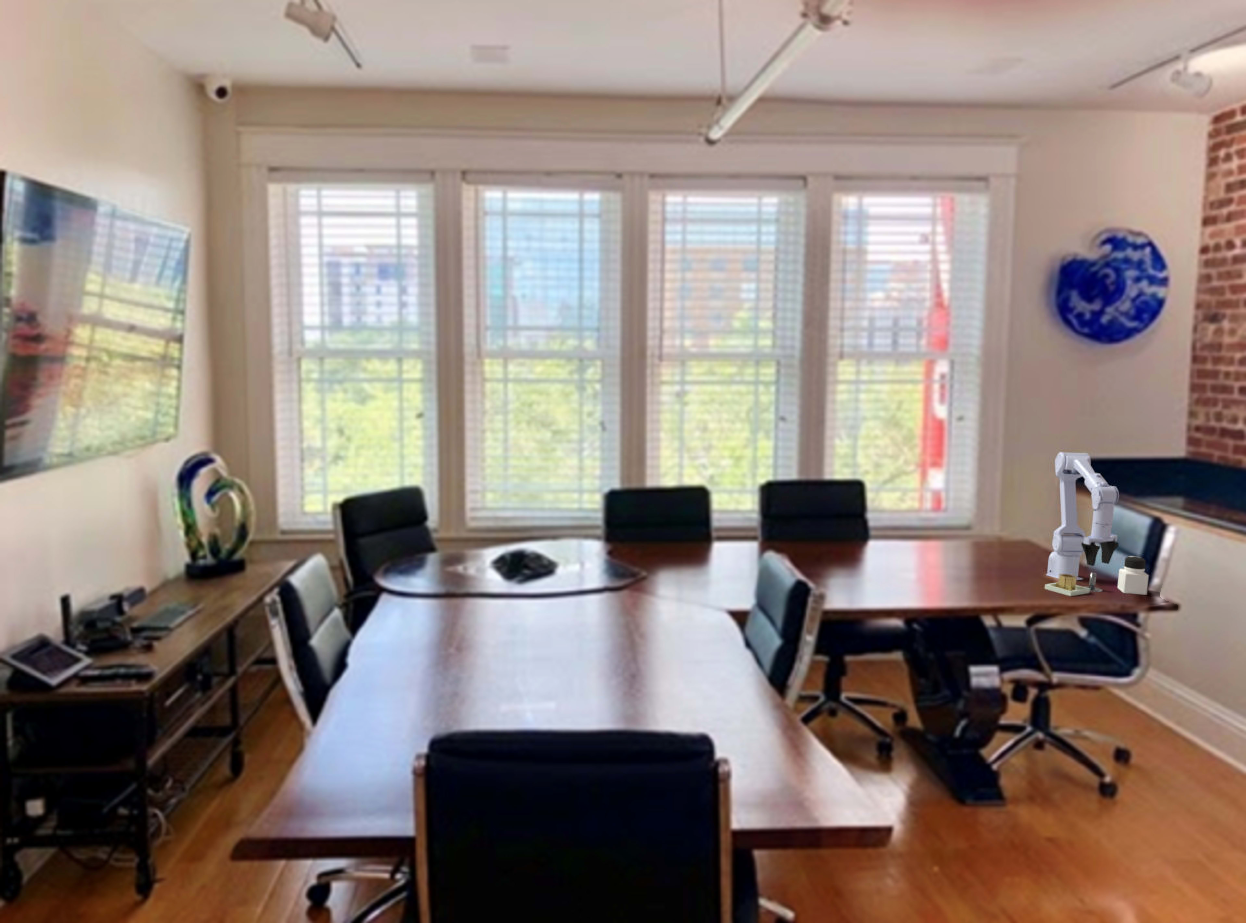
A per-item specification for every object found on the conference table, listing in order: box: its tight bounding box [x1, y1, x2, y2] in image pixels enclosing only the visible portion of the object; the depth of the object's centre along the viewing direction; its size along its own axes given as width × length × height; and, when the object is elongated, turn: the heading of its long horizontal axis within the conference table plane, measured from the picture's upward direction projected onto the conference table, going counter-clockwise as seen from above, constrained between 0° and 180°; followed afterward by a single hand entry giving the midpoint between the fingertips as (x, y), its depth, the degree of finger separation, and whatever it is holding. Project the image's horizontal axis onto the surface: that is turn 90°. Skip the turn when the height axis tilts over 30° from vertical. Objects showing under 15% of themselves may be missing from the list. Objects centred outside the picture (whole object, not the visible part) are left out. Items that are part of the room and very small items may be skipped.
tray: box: [1044, 582, 1091, 597], centre depth 318 cm, size 10×10×2 cm
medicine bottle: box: [1117, 555, 1150, 596], centre depth 319 cm, size 7×7×12 cm
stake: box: [1084, 572, 1103, 593], centre depth 321 cm, size 6×6×6 cm
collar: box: [1055, 574, 1077, 591], centre depth 318 cm, size 5×6×5 cm
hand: (1098, 564), depth 314 cm, fingers open, 7 cm apart
